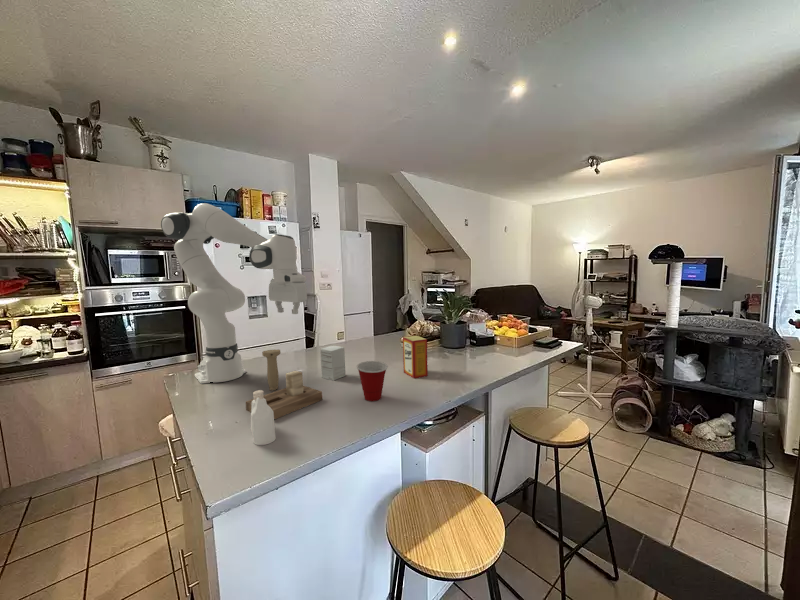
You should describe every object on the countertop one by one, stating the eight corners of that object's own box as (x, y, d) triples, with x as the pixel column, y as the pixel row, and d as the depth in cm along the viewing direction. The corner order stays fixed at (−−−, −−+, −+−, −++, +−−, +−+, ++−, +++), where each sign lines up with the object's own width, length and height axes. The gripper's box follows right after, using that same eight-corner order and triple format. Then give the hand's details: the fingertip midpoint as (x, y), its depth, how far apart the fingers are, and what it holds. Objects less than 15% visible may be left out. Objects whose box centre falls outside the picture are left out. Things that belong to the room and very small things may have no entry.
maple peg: (287, 401, 114) (285, 373, 113) (296, 397, 117) (295, 370, 116) (294, 404, 111) (292, 375, 110) (303, 400, 115) (302, 372, 114)
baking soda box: (403, 372, 143) (402, 336, 142) (416, 370, 146) (416, 334, 144) (413, 378, 135) (413, 340, 133) (427, 376, 137) (426, 338, 136)
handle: (282, 390, 125) (280, 351, 124) (264, 392, 123) (262, 353, 121) (282, 386, 130) (280, 348, 128) (264, 388, 127) (262, 350, 126)
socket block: (246, 410, 107) (245, 401, 107) (298, 391, 123) (297, 383, 123) (269, 421, 99) (269, 411, 99) (322, 399, 115) (322, 391, 114)
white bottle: (250, 434, 91) (247, 396, 90) (250, 426, 96) (248, 390, 95) (271, 430, 93) (268, 393, 92) (270, 422, 98) (268, 387, 97)
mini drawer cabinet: (334, 373, 144) (332, 345, 143) (346, 376, 140) (344, 347, 139) (321, 377, 139) (319, 348, 137) (333, 381, 134) (331, 350, 133)
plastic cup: (372, 407, 107) (371, 371, 106) (351, 399, 114) (350, 365, 113) (395, 397, 115) (394, 364, 114) (374, 390, 122) (373, 358, 121)
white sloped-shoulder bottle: (277, 394, 88) (261, 402, 83) (280, 437, 89) (264, 447, 84) (261, 391, 91) (244, 399, 85) (263, 433, 92) (247, 443, 87)
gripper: (263, 277, 129) (265, 312, 130) (294, 277, 116) (296, 315, 118) (277, 277, 134) (279, 310, 135) (309, 276, 121) (310, 313, 123)
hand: (287, 313), depth 126 cm, fingers open, 8 cm apart
